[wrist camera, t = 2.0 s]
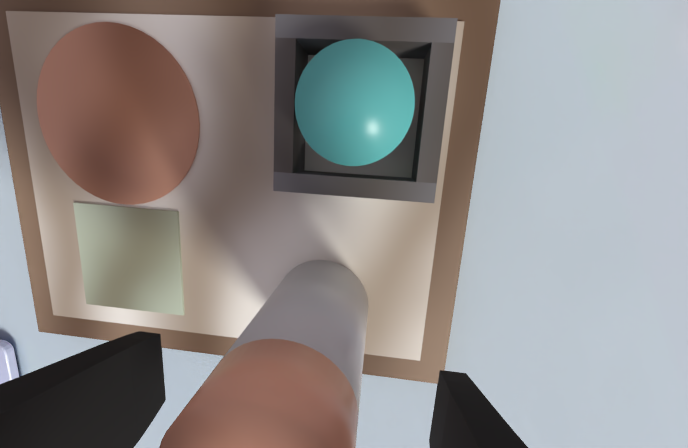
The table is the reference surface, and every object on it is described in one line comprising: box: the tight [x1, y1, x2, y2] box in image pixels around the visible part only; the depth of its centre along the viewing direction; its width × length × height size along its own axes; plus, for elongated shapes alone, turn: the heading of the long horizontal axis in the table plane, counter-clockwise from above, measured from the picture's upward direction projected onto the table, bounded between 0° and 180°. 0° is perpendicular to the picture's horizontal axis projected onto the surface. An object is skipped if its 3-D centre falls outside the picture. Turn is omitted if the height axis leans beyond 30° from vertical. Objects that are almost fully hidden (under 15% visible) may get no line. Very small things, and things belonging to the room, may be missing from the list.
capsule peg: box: [160, 260, 368, 448], centre depth 9 cm, size 4×4×7 cm
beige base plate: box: [0, 0, 500, 384], centre depth 12 cm, size 18×14×2 cm
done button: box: [295, 39, 415, 166], centre depth 9 cm, size 3×3×2 cm
